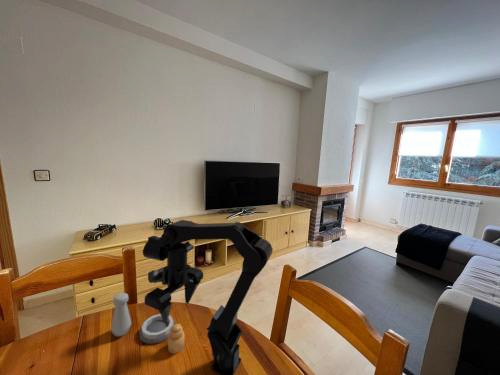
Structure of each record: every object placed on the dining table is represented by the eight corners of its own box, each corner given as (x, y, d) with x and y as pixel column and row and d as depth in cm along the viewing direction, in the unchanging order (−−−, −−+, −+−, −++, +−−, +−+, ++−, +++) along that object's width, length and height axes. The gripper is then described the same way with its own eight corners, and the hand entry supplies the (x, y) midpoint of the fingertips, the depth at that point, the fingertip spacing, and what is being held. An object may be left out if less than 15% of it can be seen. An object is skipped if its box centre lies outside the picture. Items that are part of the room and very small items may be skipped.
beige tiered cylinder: (187, 344, 68) (187, 324, 67) (176, 356, 63) (176, 335, 63) (175, 338, 70) (176, 319, 69) (164, 349, 65) (164, 329, 64)
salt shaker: (135, 326, 73) (135, 291, 72) (123, 340, 68) (123, 302, 66) (119, 324, 74) (118, 289, 73) (106, 337, 68) (105, 299, 67)
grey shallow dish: (181, 325, 75) (182, 319, 75) (156, 349, 65) (156, 342, 65) (158, 315, 79) (159, 308, 79) (132, 335, 69) (131, 328, 69)
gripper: (178, 247, 75) (178, 288, 77) (130, 269, 58) (131, 322, 60) (204, 253, 71) (203, 297, 72) (159, 280, 54) (160, 337, 56)
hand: (176, 311), depth 65 cm, fingers open, 9 cm apart
